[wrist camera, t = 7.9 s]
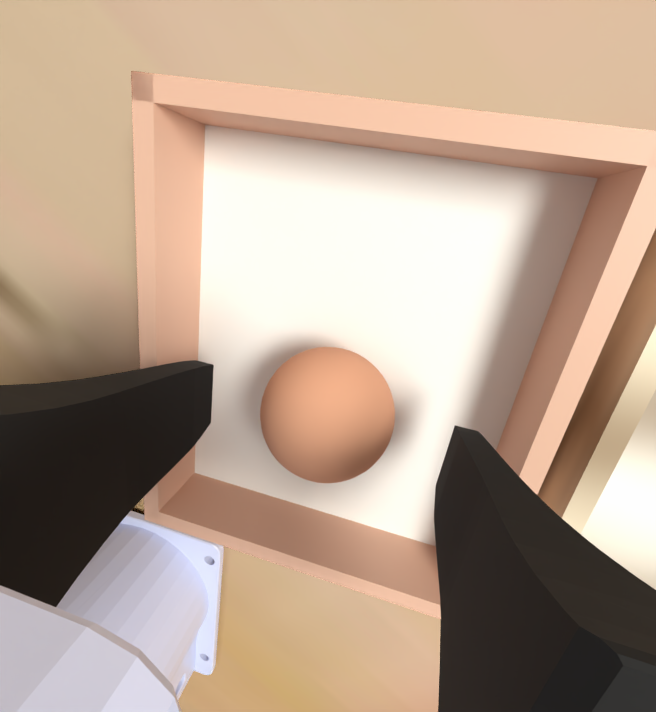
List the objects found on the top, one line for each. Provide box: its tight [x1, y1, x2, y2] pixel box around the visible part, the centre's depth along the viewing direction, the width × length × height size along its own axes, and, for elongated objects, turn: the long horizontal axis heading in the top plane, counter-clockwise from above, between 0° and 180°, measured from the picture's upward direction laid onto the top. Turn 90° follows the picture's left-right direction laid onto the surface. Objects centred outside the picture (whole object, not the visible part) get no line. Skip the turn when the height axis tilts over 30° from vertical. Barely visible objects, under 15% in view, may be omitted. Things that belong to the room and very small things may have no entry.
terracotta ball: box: [260, 347, 395, 483], centre depth 12 cm, size 4×4×4 cm
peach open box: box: [131, 71, 656, 619], centre depth 12 cm, size 14×12×3 cm
